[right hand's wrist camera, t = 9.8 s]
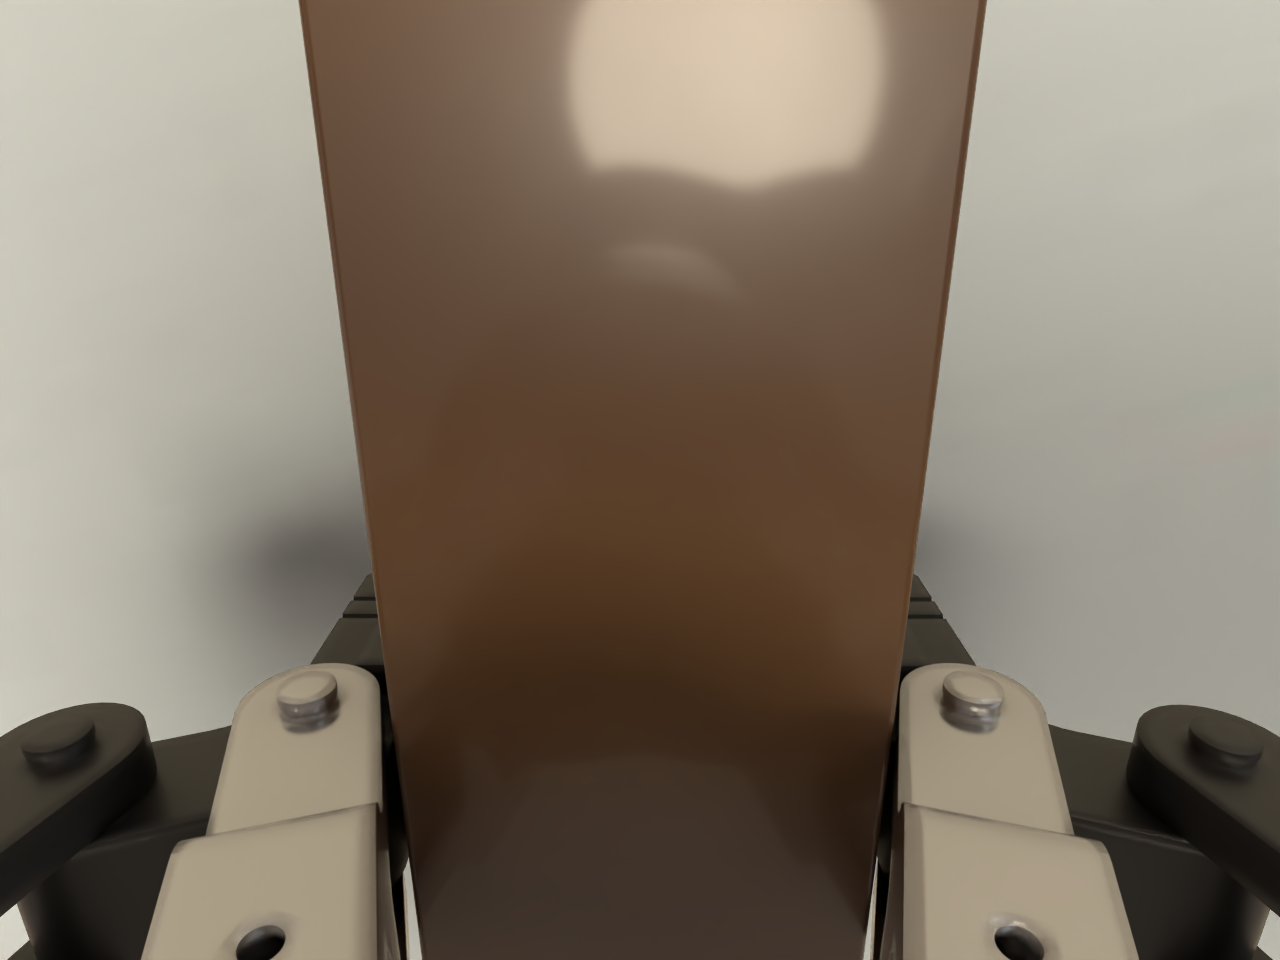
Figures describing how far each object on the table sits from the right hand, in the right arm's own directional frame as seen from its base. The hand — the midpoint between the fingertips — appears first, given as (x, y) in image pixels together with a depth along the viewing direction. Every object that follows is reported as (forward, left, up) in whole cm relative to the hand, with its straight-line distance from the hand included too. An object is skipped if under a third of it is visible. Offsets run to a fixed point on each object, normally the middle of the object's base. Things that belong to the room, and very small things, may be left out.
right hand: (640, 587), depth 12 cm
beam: (+18, -8, -2) cm, 20 cm away
